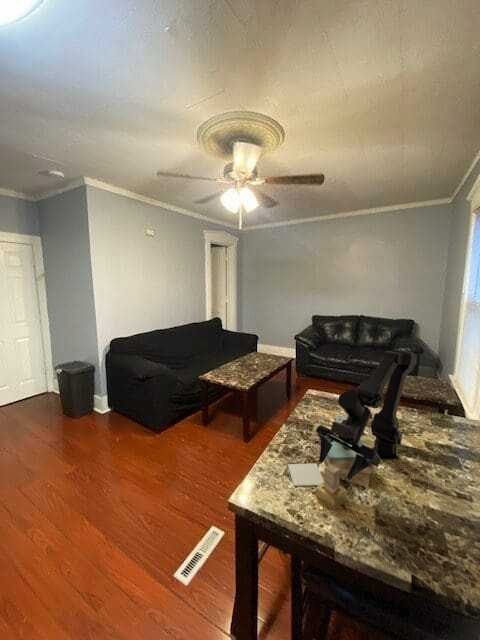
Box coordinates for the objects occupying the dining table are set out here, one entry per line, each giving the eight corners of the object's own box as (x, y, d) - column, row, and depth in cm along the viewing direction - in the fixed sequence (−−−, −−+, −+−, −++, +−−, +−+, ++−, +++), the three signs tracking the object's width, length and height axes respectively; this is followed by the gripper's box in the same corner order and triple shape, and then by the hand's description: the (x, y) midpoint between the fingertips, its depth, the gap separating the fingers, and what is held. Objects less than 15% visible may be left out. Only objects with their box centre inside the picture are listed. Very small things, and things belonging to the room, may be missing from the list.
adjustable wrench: (329, 444, 110) (329, 440, 109) (314, 438, 114) (314, 434, 114) (351, 419, 128) (351, 415, 128) (338, 415, 133) (338, 411, 132)
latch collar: (328, 486, 86) (328, 478, 86) (346, 499, 82) (346, 489, 81) (315, 496, 83) (316, 487, 82) (334, 509, 78) (334, 500, 77)
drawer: (358, 453, 102) (359, 435, 101) (373, 473, 92) (374, 453, 91) (319, 454, 102) (320, 436, 101) (329, 474, 92) (329, 454, 91)
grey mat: (316, 464, 97) (316, 463, 97) (325, 485, 87) (325, 484, 87) (287, 465, 97) (287, 464, 97) (293, 486, 87) (293, 485, 87)
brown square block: (329, 492, 84) (330, 463, 83) (338, 498, 82) (339, 469, 81) (323, 497, 82) (324, 467, 81) (332, 503, 80) (333, 473, 79)
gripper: (319, 400, 90) (296, 445, 85) (377, 423, 75) (353, 479, 70) (333, 416, 95) (312, 458, 90) (389, 440, 81) (367, 492, 76)
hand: (333, 470), depth 81 cm, fingers open, 9 cm apart
